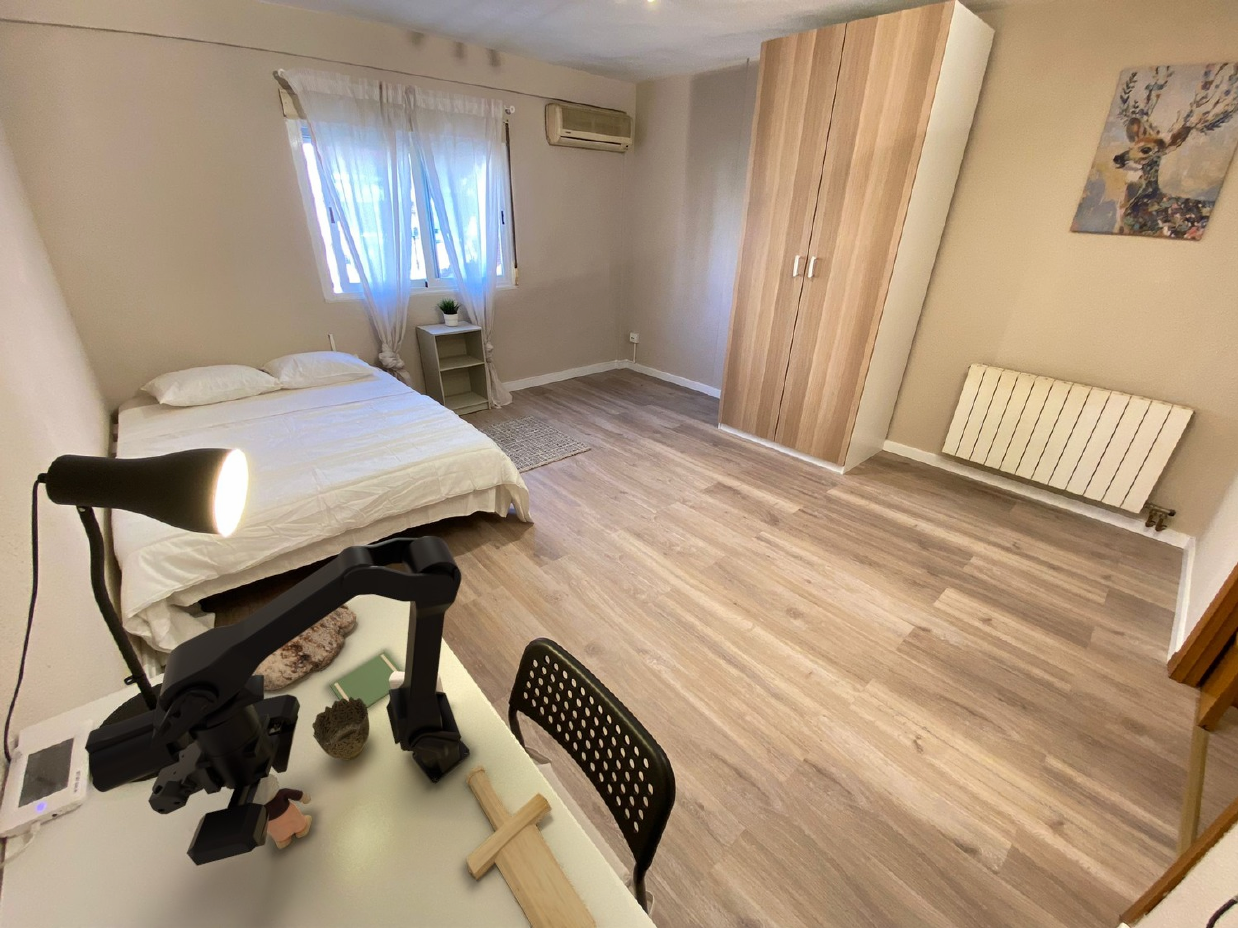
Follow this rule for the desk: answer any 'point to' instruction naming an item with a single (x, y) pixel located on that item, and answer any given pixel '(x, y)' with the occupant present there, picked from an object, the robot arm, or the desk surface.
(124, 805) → the desk surface
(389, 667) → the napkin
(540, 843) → the toy sword
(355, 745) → the cup
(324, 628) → the stone
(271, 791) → the grandmother figurine
